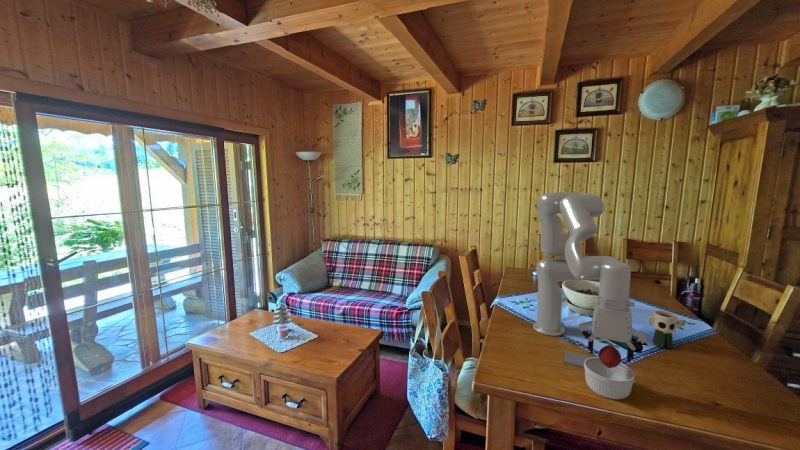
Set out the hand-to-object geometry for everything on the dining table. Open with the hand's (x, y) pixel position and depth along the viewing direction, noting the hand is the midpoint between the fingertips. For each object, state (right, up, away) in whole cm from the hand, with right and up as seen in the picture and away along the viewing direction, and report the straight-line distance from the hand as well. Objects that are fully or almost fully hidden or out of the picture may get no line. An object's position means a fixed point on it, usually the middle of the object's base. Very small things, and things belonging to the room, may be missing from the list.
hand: (609, 356), depth 100 cm
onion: (0, -4, +1) cm, 4 cm away
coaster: (-1, -9, +17) cm, 19 cm away
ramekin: (0, -11, +1) cm, 11 cm away
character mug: (+38, -7, +26) cm, 47 cm away
